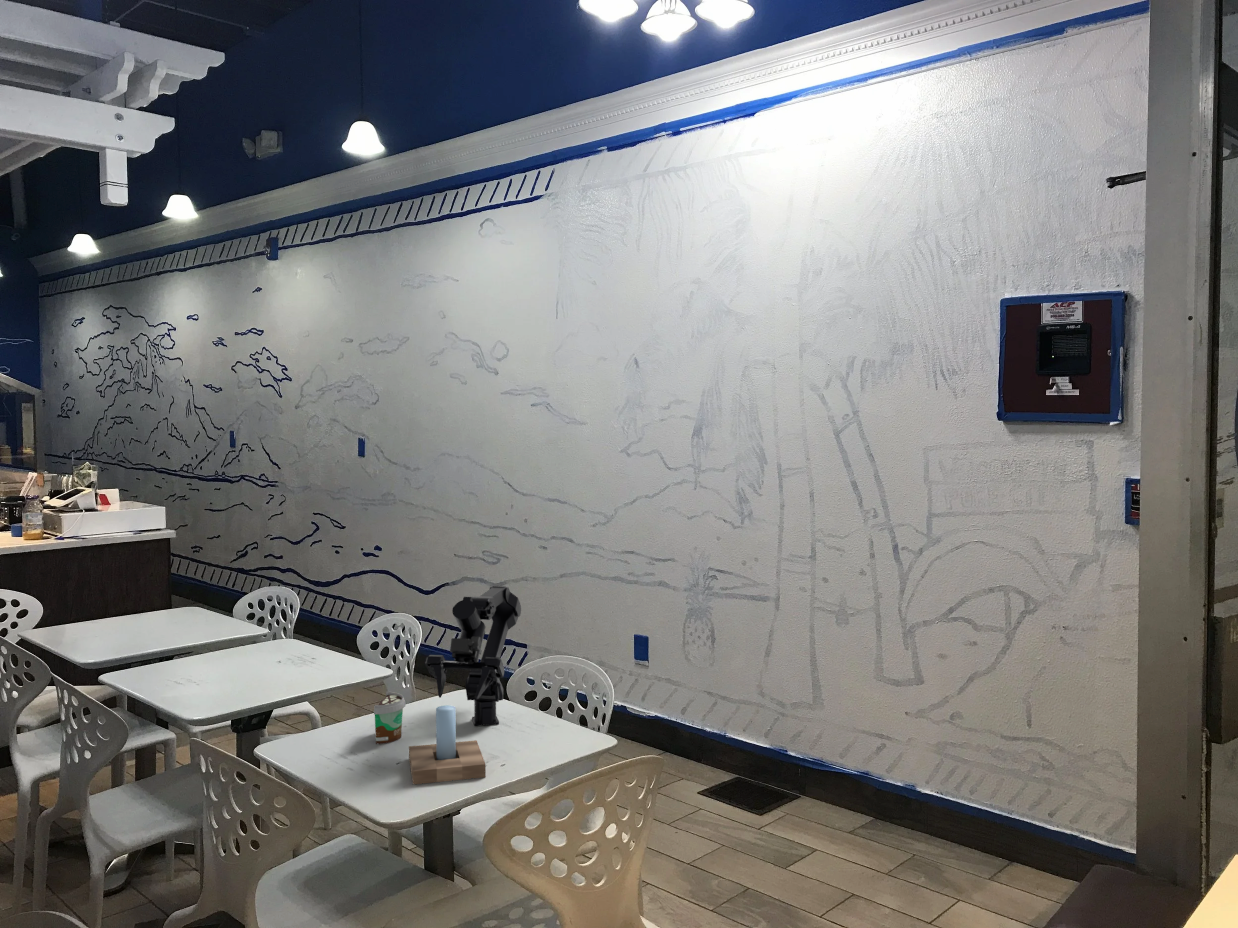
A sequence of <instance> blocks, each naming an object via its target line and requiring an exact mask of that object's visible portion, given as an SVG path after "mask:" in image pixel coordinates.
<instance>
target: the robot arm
mask: <svg viewBox="0 0 1238 928" xmlns="http://www.w3.org/2000/svg"><path fill="white" fill-rule="evenodd" d="M451 611H452V612H451V613H452V615H453V617H454V620H455V622H456V624H457V627H458V628H459V629H460V630H461V631H460V636H459V638H458V637H457V638H451V639H450V645H449V646H450V648H449V652H450V653H451V657H452V659H454V660H446V658H445V657H444V655H442V654H429V655H428V656H426V658H425V662H424V664H425V667H426V669H427V671H428V674H429V675H431V676H432V677H434V679H436V687H437V694H438V695H437V696H438V698H439V699H440V698H442V695H443V693H444V689H445V684H446V681H447V676H446V674H447V673H448V672H447V671H448V670H459V671H460V670H461V671H462V670H463V671H470V672H469V673H468V677H467V678H466V680H465V693H466V700H467V701H473V702H474V704H473V705H474V707H473V709H474V711H473V712H474V716H472V717H471V721H472V723H473V725H474V727H476V726H477V727H479V726H481V727H482V726H491V725H499V724H500V720H499V718H498V716H497V703H498V702H499V701H504V687H503V684H502V683H501V681H500V680H501V679H503V678H504V675H505V666H504V663H503V661H502V659H501V656H502V652H503V650H504V645H505V641H506V640H507V639H506V638H507V635H508V631H509V630H510V629H512V628H513V627H514V626H515V625H516V624H517V622H518V619H519V618H520V616H521V614H522V606H521V602H520V599H519V597H517V595H515V594H514V593H512V592H511V590H510V588H509V587H508V586H506V585H504V586H503V585H502V586H501V585H492V586H489V588H488V590H487V591H485V592H483V593H482V594H481V595H480V596H479V595H478V596H463V598H462V600H459V601H458V602H457V603H456V604H455V605H454V606H452V610H451ZM490 620H491V627H490V630H489V633H488V637H487V639H486V642H485V646H484V649H483V653H482V646H483V640H484V636H485V635H486V624H485V623H484V622H483V621H490ZM480 655H482V656H481V660H480V661H479V659H480Z"/></svg>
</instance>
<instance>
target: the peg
mask: <svg viewBox="0 0 1238 928" xmlns="http://www.w3.org/2000/svg"><path fill="white" fill-rule="evenodd" d="M456 714H457V713H456V706H454V705H451V704H448V705H447V704H445V705H440V706H437V707H436V708H435V729H436V731H435V734H436V735H435V738H436V741H435V744H436V756H437V760H446V759H456V742H457V741H456V740H457V739H456V737H457V733H456V731H457V730H456V729H457V725H456V718H457V717H456Z"/></svg>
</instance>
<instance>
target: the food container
mask: <svg viewBox="0 0 1238 928" xmlns="http://www.w3.org/2000/svg"><path fill="white" fill-rule="evenodd" d="M385 694H386V695H385V697H384V698H382V699H381V700H380V702H379V704H377V705H374V707H373V715H374V726H375V727H374V728H375V729H374V731H375V733H374V734H375V744H376V745H382V744H383V745H384V744H385V745H386V744H389V743H390V744H391V743H393V742H396V741H398V740H400V739H401V738H402V727H403V712H404V709H405V707H406V701H405V698H404V696H403V694H401V693H398V692H393V691H386V693H385Z"/></svg>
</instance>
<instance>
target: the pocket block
mask: <svg viewBox="0 0 1238 928" xmlns="http://www.w3.org/2000/svg"><path fill="white" fill-rule="evenodd" d="M408 760H409V761H408V762H409V767H410V774H411V780H412V785H422V783H423V784H432V783H441V782H451V781H452V780H453V781H460V780H462V781H463V780H471V778H473V779H479V778H480V779H481V778H486V776H487V775H486V765H487V764H486V762H485V760H484V756H483V753H482V751H481V748H480V745H479V743H478V740H476V739H475V740H465V741H463V740H462V741H456V759H446V760H437V756H436V743H433V744H431V743H430V744H420V745H411V746H408ZM453 781H452V782H453Z"/></svg>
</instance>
